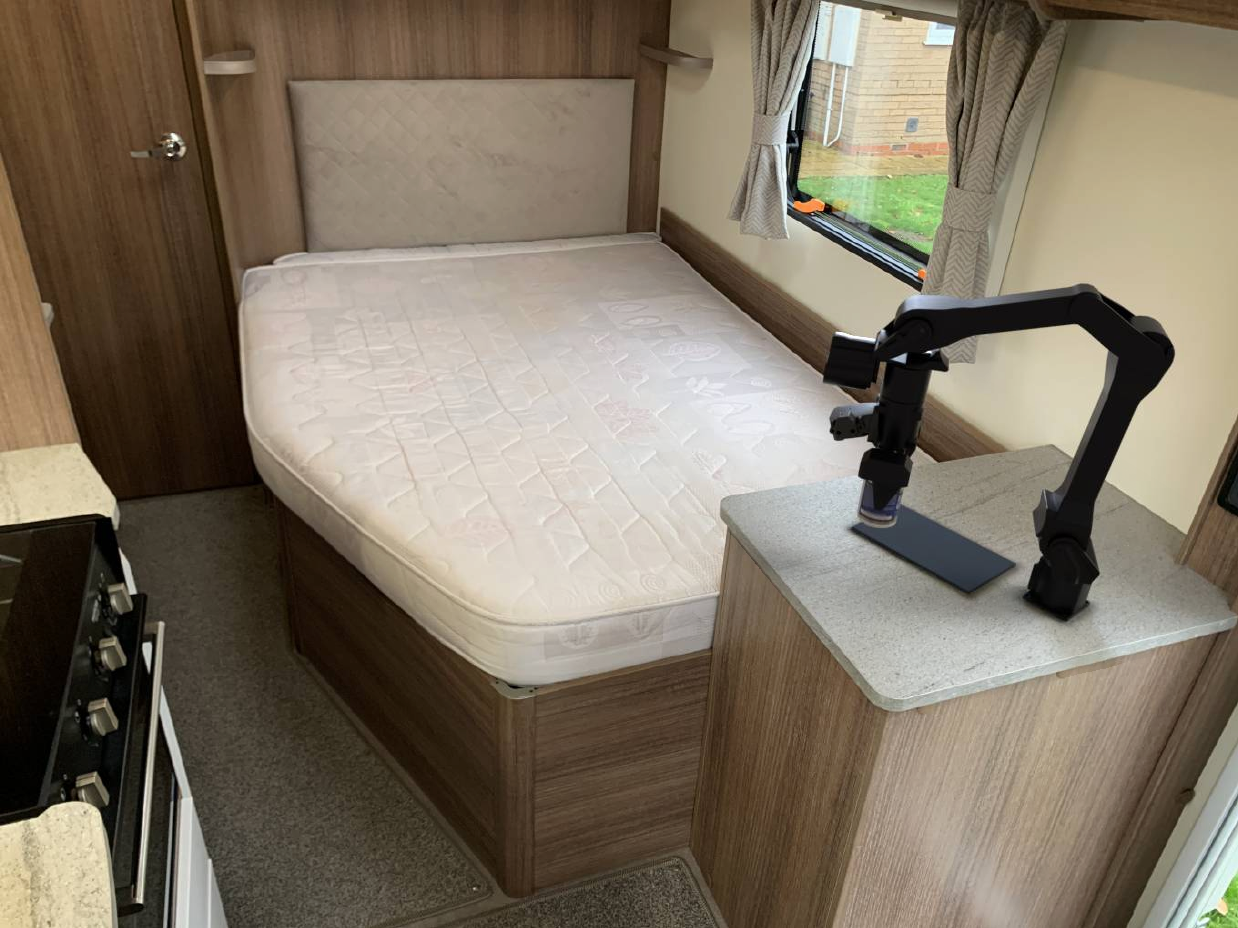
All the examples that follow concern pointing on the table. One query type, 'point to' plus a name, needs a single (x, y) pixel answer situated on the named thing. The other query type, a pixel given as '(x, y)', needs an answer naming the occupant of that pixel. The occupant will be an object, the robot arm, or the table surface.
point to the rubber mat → (938, 550)
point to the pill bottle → (874, 516)
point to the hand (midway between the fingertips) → (880, 500)
